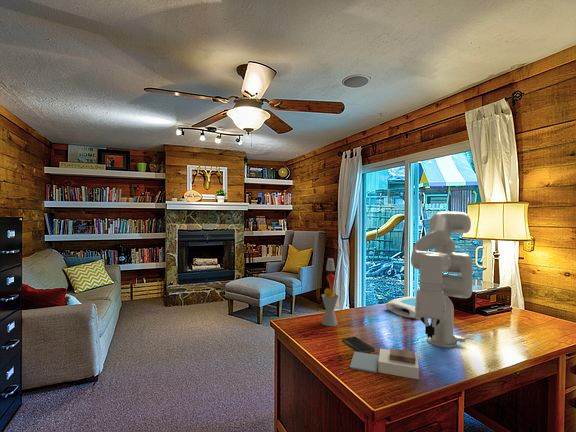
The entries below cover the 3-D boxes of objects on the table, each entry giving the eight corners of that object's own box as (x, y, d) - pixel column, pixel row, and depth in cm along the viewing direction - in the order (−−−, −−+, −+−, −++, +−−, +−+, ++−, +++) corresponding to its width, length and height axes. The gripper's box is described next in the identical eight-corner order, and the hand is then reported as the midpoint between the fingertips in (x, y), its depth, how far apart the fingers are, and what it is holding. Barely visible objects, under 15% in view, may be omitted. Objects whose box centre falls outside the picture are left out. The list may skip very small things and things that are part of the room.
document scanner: (444, 313, 186) (444, 302, 186) (415, 320, 172) (415, 309, 172) (413, 304, 204) (414, 294, 204) (385, 310, 189) (385, 300, 189)
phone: (360, 352, 129) (341, 338, 143) (360, 355, 129) (341, 341, 143) (375, 349, 132) (355, 336, 146) (375, 352, 132) (355, 338, 146)
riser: (416, 364, 121) (417, 354, 121) (418, 379, 110) (418, 368, 110) (380, 358, 126) (380, 348, 126) (378, 372, 115) (378, 361, 114)
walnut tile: (414, 357, 119) (414, 351, 118) (415, 364, 113) (415, 358, 113) (390, 353, 122) (390, 348, 122) (389, 359, 116) (389, 354, 116)
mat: (378, 356, 127) (378, 355, 127) (376, 373, 114) (376, 371, 114) (354, 352, 130) (354, 351, 130) (349, 368, 117) (349, 366, 117)
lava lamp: (332, 319, 171) (333, 257, 171) (341, 325, 163) (342, 259, 163) (318, 321, 168) (319, 257, 168) (326, 327, 160) (327, 260, 159)
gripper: (451, 287, 115) (450, 336, 114) (408, 283, 120) (407, 330, 119) (455, 291, 108) (454, 343, 107) (409, 287, 113) (408, 336, 112)
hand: (429, 336), depth 113 cm, fingers closed
